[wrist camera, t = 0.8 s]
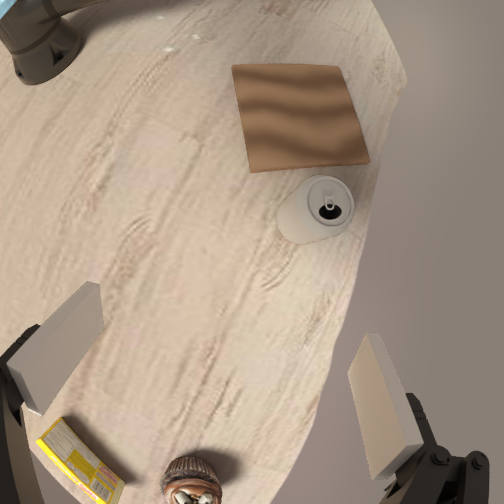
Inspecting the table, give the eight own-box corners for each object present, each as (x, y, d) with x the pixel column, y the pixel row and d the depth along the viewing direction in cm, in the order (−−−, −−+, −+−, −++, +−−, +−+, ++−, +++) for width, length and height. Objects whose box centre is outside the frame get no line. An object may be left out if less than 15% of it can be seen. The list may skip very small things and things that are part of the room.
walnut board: (231, 69, 45) (232, 64, 44) (336, 70, 48) (338, 66, 47) (250, 173, 44) (252, 170, 43) (366, 164, 47) (370, 162, 46)
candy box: (54, 420, 36) (34, 441, 28) (61, 416, 36) (40, 437, 28) (118, 486, 37) (108, 513, 28) (126, 482, 37) (116, 510, 29)
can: (278, 248, 44) (305, 239, 32) (271, 197, 44) (293, 171, 32) (326, 242, 45) (365, 231, 33) (318, 193, 45) (353, 169, 33)
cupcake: (214, 449, 40) (217, 486, 30) (224, 489, 39) (229, 526, 29) (155, 453, 38) (147, 489, 28) (170, 493, 38) (166, 529, 28)
